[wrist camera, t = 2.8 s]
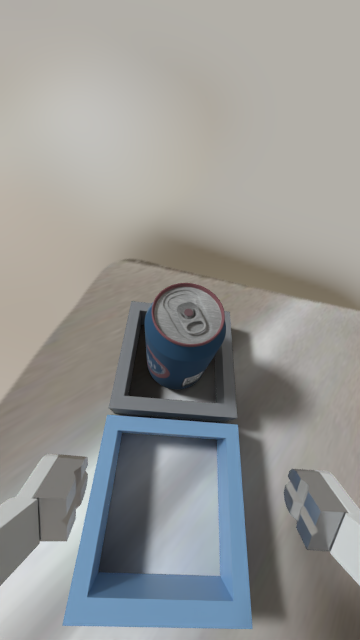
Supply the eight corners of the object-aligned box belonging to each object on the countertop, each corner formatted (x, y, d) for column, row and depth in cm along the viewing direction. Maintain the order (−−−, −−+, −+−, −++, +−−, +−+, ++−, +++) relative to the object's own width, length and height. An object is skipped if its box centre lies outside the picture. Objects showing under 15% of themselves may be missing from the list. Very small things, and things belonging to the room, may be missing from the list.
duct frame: (222, 325, 31) (229, 311, 28) (235, 598, 18) (252, 628, 15) (133, 316, 30) (131, 301, 27) (78, 594, 17) (62, 625, 14)
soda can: (139, 348, 28) (131, 288, 17) (188, 331, 30) (207, 269, 19) (159, 401, 25) (163, 367, 14) (212, 378, 27) (249, 334, 16)
